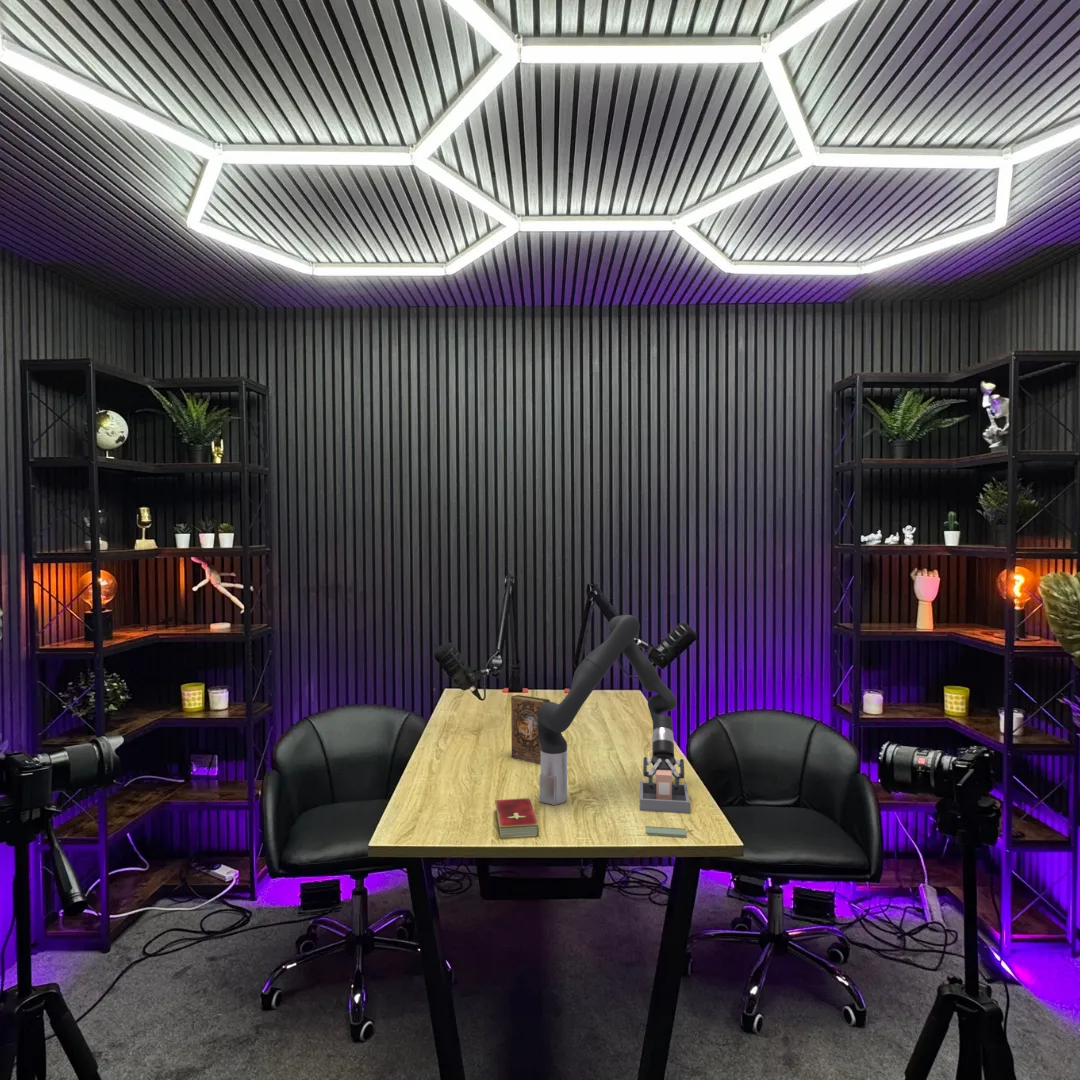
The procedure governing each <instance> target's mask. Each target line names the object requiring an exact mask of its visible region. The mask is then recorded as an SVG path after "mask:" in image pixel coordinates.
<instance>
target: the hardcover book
mask: <svg viewBox="0 0 1080 1080" xmlns="http://www.w3.org/2000/svg"><path fill="white" fill-rule="evenodd" d="M494 804H495V812H496V816H497V821H498V822H497V823H498V828H499V829H498V830H499V835H500V839H501V838H502V839H504V838H505V839H507V838H522V837H539V834H540V830H539V829H540V828H539V824H538V821H537V818H536V814H535V811H534V807H533V805H532V800H531V798H530V797H524V798H523V797H522V798H508V799H507V798H504V799H503V798H502V799H494Z"/></svg>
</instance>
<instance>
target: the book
mask: <svg viewBox="0 0 1080 1080" xmlns="http://www.w3.org/2000/svg"><path fill="white" fill-rule="evenodd" d="M510 699H511V700H510V702H511V708H510V709H511V712H510V713H511V716H510V717H511V718H510V720H511V723H510V726H511V733H510V734H511V736H510V737H511V759H512V758H513V759H514V760H517V759H519V760H518V761H522V760H524V761H523V762H527V761H528V762H529V763H531V764H532V763H533V764H538V765H541V747H540V743H539V740H538V725H537V717H538V711H539V709H540V707H541V706H542V705H543V704H544V703H546V702H551V700H550V699H549V698H542V697H536V696H535V697H534V696H529V695H522V694H521V695H520V694H517V695H512V696H511V697H510ZM513 759H512V760H513Z"/></svg>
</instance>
